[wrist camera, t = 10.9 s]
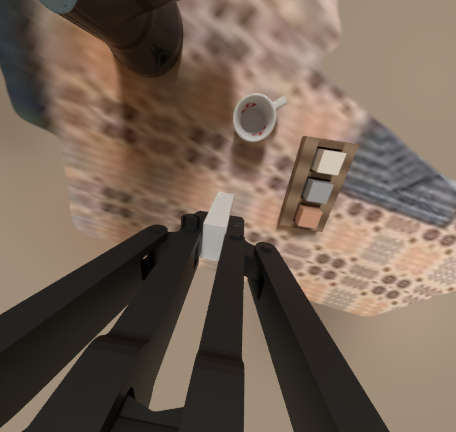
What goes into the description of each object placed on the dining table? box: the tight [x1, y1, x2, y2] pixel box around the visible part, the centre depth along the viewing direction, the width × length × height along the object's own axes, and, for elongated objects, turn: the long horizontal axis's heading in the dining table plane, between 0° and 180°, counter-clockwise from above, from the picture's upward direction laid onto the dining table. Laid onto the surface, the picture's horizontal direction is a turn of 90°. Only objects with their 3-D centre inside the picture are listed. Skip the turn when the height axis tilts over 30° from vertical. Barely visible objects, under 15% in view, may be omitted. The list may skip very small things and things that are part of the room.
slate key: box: [301, 177, 334, 204], centre depth 41 cm, size 4×4×4 cm
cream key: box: [310, 148, 346, 175], centre depth 38 cm, size 4×4×4 cm
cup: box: [233, 93, 287, 142], centre depth 36 cm, size 11×8×8 cm
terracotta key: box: [294, 203, 323, 229], centre depth 44 cm, size 4×4×4 cm
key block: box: [278, 136, 359, 232], centre depth 43 cm, size 21×11×3 cm, turn 172°
